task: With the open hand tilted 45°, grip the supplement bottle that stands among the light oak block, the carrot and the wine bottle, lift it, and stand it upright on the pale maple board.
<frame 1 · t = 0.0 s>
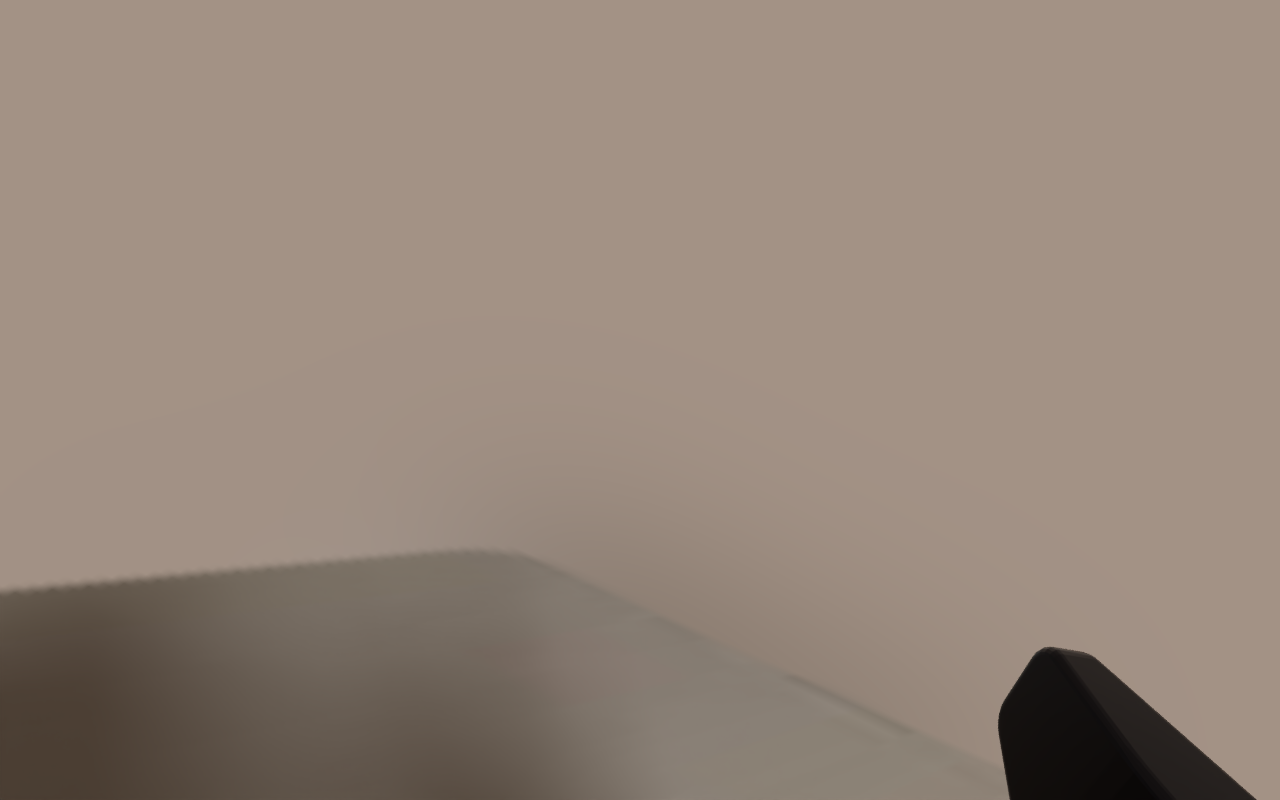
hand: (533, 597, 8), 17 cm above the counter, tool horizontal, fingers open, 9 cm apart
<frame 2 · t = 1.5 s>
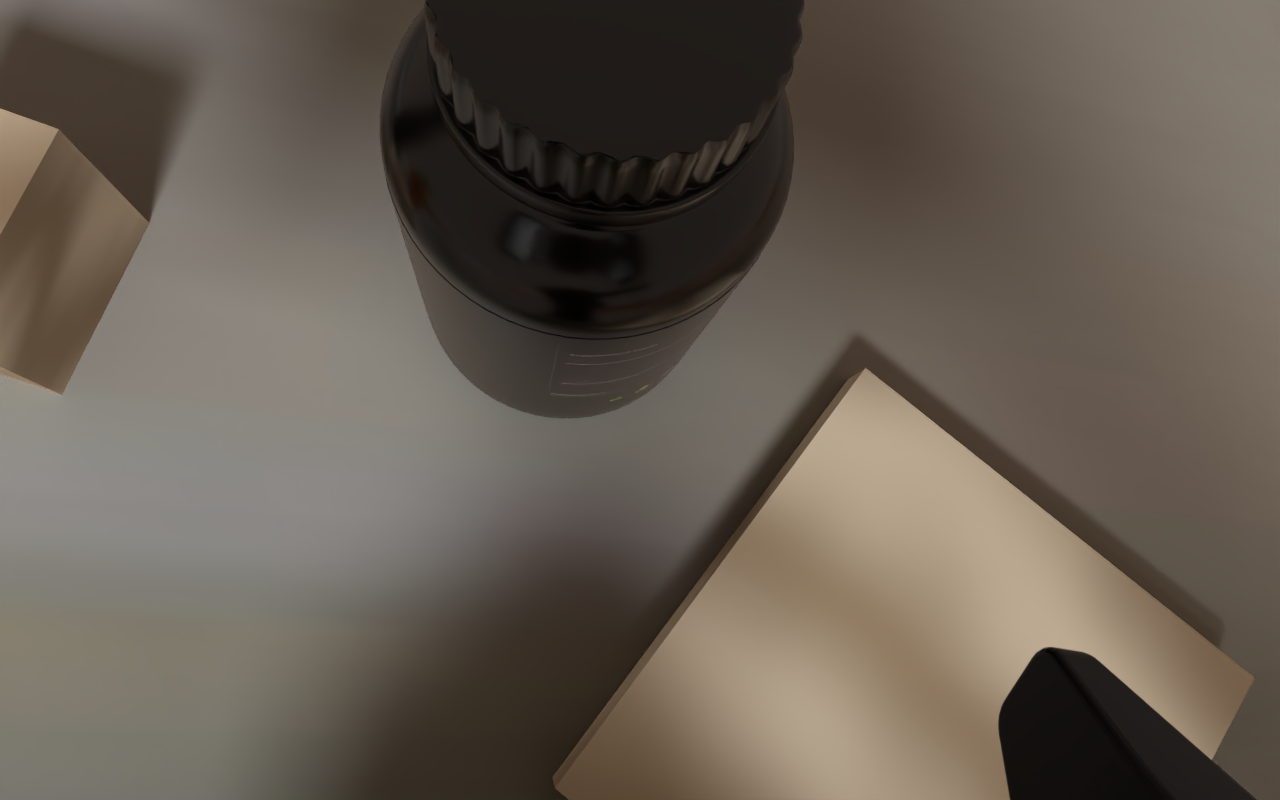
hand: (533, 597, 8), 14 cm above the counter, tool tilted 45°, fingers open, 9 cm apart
supplement bottle: (563, 297, 23), on the counter
oak block: (13, 275, 21), on the counter
maple board: (906, 722, 21), on the counter
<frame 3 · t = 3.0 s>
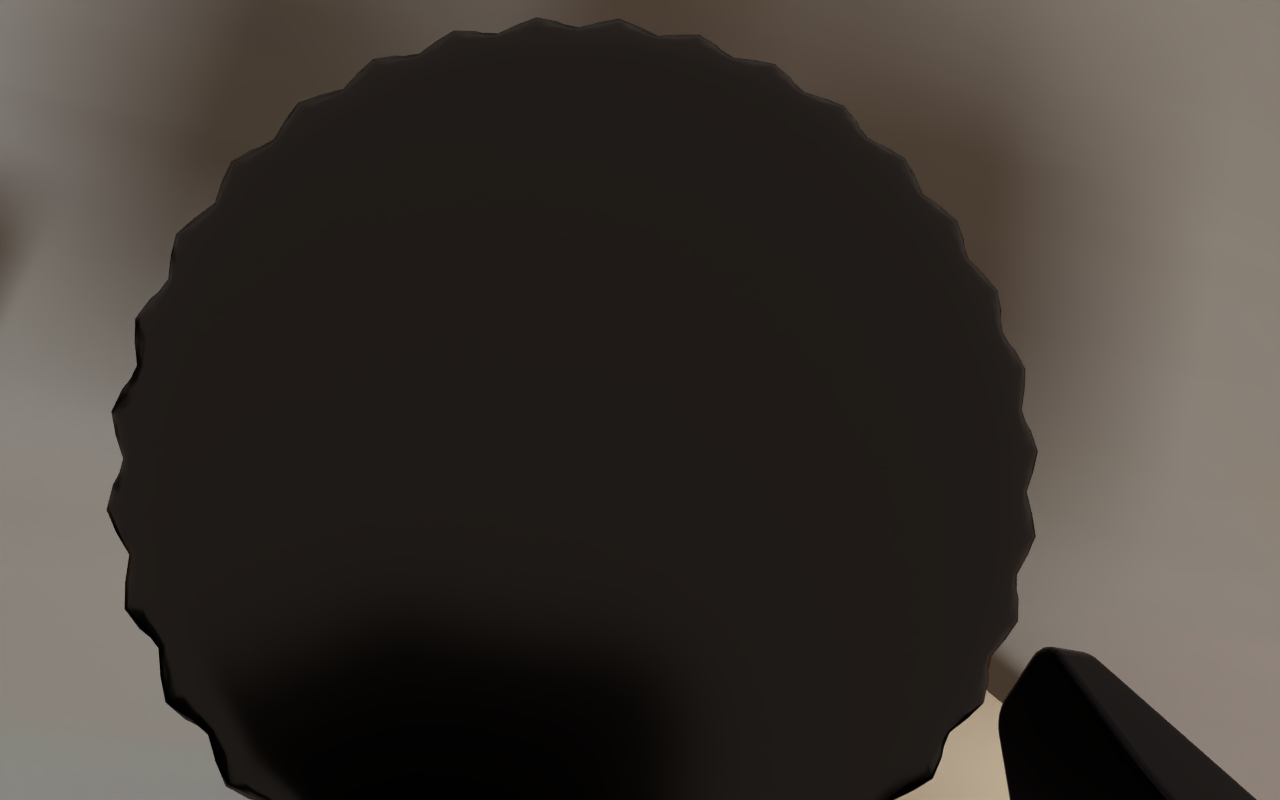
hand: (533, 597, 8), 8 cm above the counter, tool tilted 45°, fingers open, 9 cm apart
supplement bottle: (534, 545, 16), on the counter
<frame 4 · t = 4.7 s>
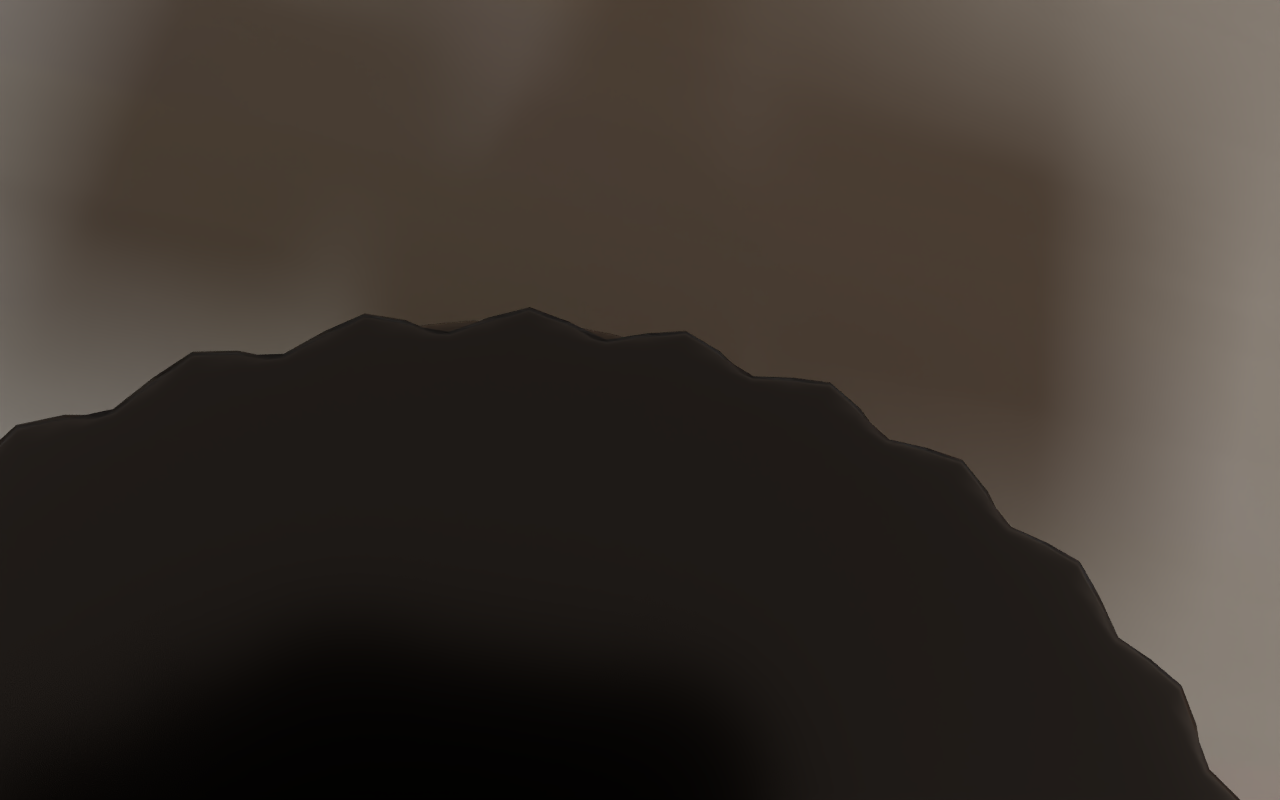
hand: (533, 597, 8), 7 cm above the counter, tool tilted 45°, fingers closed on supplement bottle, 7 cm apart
supplement bottle: (503, 687, 14), on the counter, touching gripper
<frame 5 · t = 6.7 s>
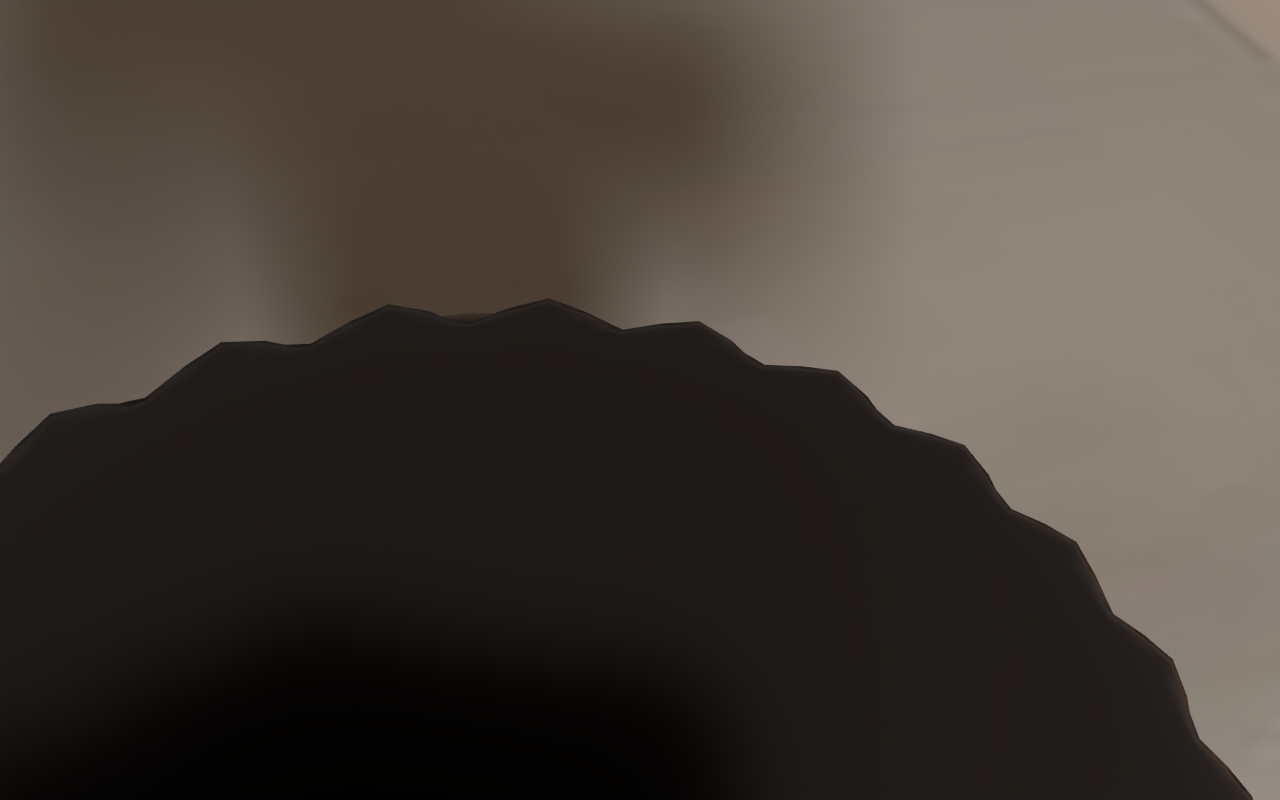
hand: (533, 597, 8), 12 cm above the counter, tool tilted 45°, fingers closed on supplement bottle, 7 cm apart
supplement bottle: (494, 679, 14), point 5 cm above the counter, touching gripper
when the fingers open (9 cm above the counter, at t = 8.7 s): supplement bottle stays where it is, resting on maple board.
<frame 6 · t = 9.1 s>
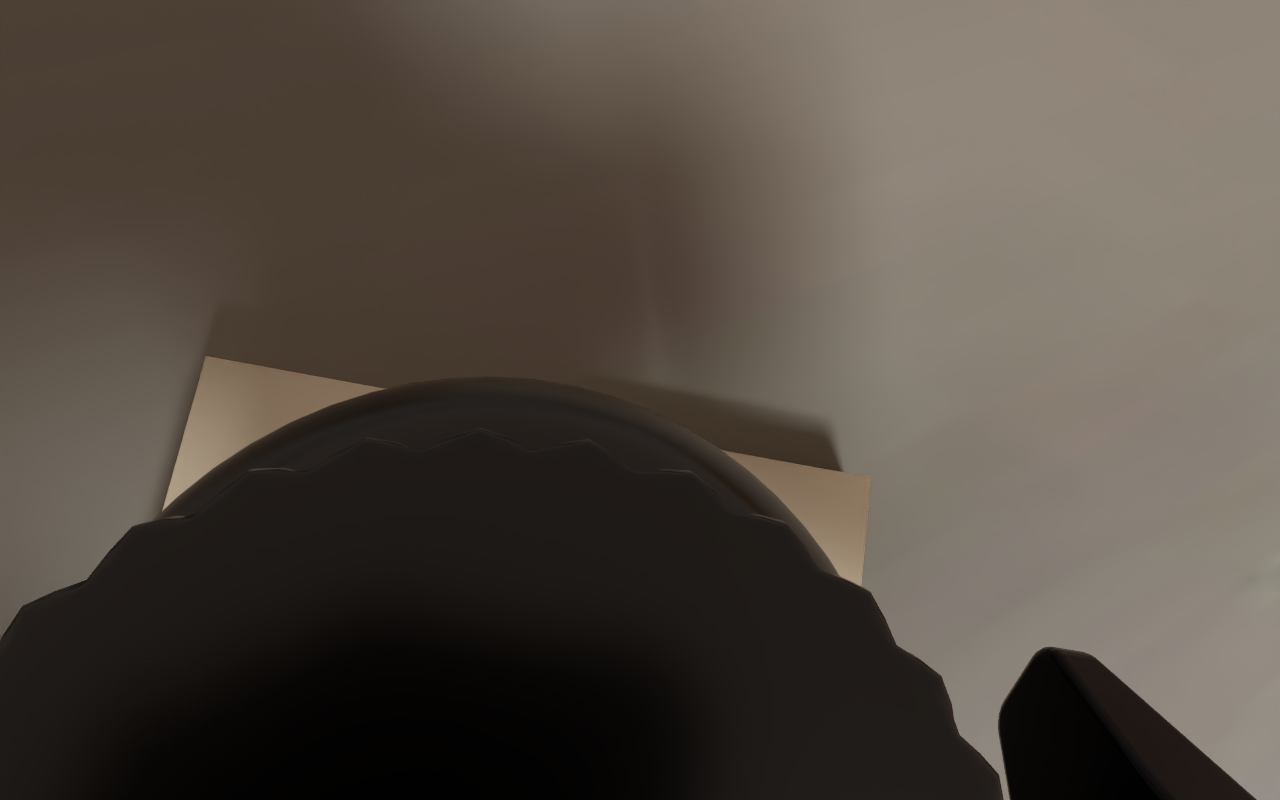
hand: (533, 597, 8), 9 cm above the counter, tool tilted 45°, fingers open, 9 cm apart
supplement bottle: (496, 684, 15), point 1 cm above the counter, touching maple board
maple board: (488, 761, 16), on the counter
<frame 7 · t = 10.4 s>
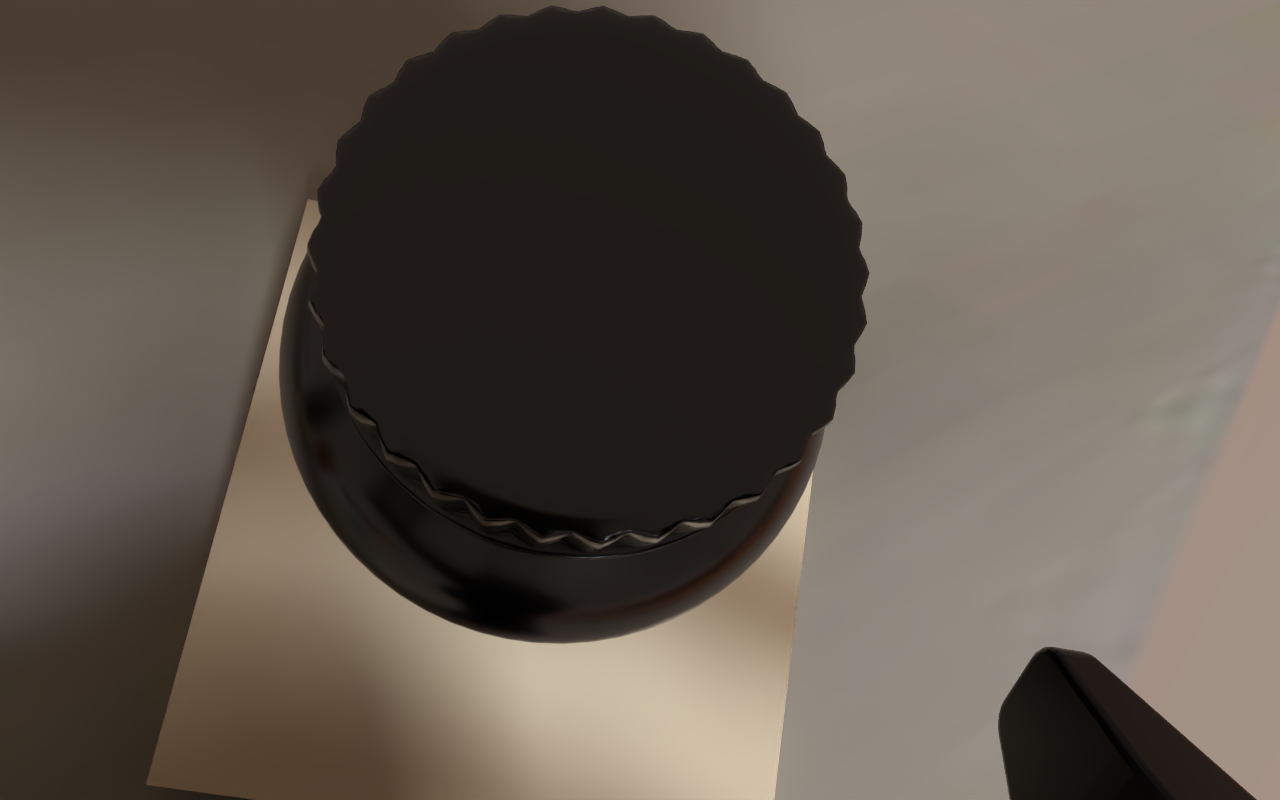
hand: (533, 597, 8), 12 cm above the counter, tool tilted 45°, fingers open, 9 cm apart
supplement bottle: (535, 457, 19), point 1 cm above the counter, touching maple board
maple board: (525, 525, 20), on the counter
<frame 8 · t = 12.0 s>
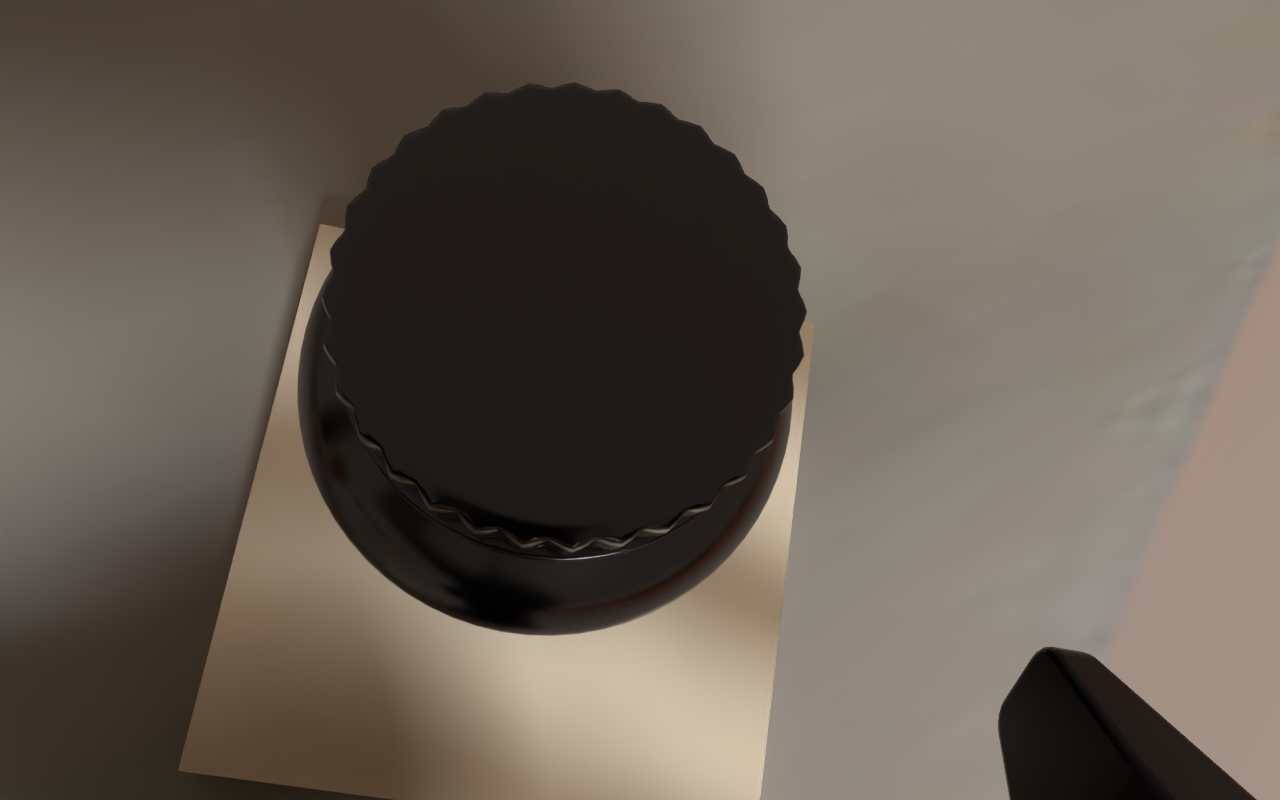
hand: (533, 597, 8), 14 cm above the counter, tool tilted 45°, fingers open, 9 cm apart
supplement bottle: (535, 463, 20), point 1 cm above the counter, touching maple board
maple board: (527, 528, 21), on the counter
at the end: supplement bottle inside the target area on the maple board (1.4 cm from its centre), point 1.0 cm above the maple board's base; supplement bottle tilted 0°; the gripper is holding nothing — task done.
